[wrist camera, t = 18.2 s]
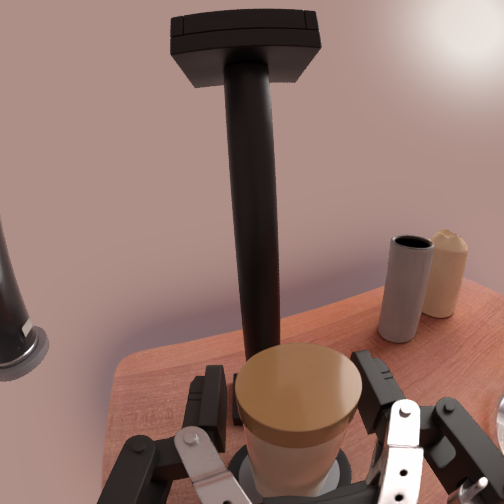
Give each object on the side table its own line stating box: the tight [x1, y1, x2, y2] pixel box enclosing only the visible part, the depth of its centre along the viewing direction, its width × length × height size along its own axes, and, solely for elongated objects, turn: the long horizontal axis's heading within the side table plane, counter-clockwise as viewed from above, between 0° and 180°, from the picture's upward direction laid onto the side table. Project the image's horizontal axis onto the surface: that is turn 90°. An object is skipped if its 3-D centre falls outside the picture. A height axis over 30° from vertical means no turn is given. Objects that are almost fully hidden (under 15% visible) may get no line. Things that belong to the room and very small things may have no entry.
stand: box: [170, 9, 322, 425], centre depth 16 cm, size 7×7×25 cm
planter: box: [378, 235, 434, 343], centre depth 25 cm, size 4×4×10 cm
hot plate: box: [228, 445, 351, 504], centre depth 12 cm, size 8×8×2 cm
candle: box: [422, 230, 468, 318], centre depth 28 cm, size 6×6×10 cm
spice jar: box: [235, 343, 362, 497], centre depth 10 cm, size 5×5×9 cm
